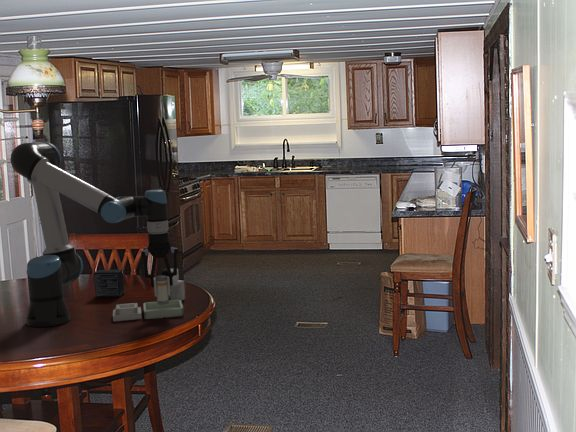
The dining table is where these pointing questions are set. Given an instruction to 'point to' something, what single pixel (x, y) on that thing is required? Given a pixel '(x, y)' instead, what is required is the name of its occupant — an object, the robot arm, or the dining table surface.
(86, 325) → the dining table surface
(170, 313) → the tray
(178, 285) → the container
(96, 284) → the small box
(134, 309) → the holder
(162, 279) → the fuse
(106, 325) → the dining table surface
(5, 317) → the dining table surface
